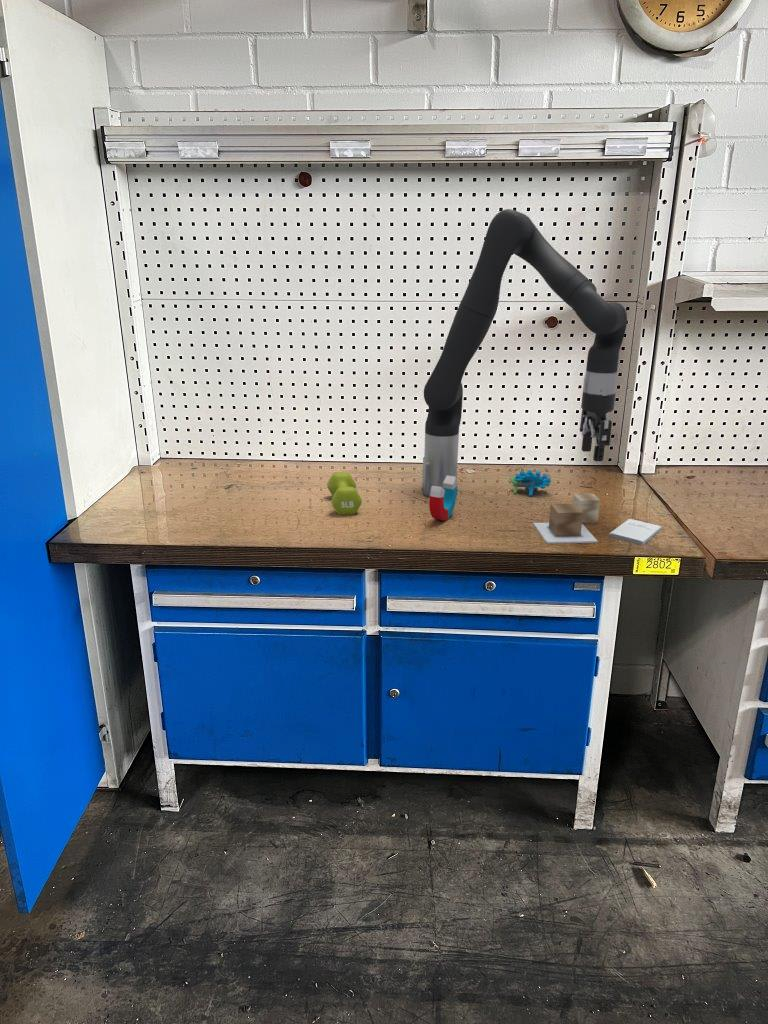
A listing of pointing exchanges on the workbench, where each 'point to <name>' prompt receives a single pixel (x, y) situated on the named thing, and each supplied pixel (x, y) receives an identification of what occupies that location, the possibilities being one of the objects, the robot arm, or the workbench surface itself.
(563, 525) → the walnut block
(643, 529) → the external hard drive
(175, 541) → the workbench surface
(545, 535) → the white square plate
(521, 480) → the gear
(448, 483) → the magnet
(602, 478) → the workbench surface
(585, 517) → the maple block
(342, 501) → the dumbbell
